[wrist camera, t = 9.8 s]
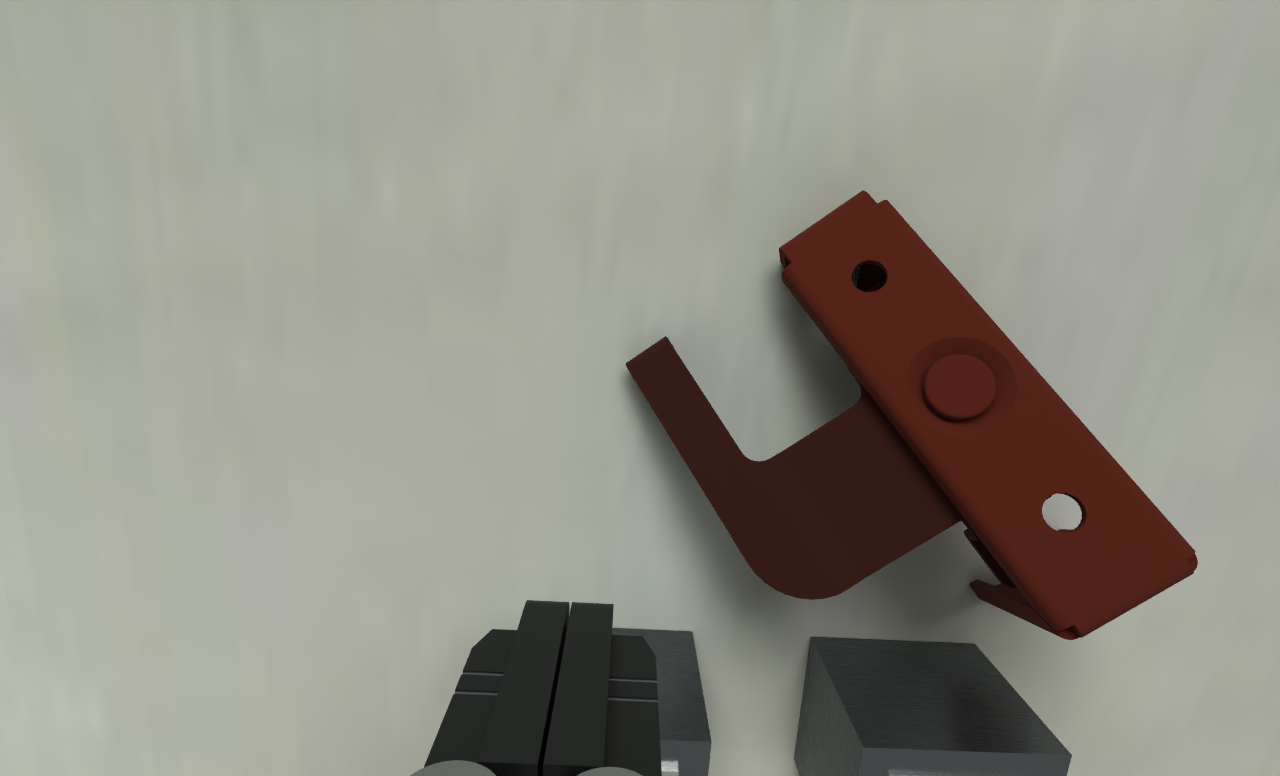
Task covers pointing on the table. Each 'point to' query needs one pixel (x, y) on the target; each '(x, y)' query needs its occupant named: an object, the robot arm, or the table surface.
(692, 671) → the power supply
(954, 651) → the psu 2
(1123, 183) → the table surface
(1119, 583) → the bracket
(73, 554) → the table surface
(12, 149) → the table surface
